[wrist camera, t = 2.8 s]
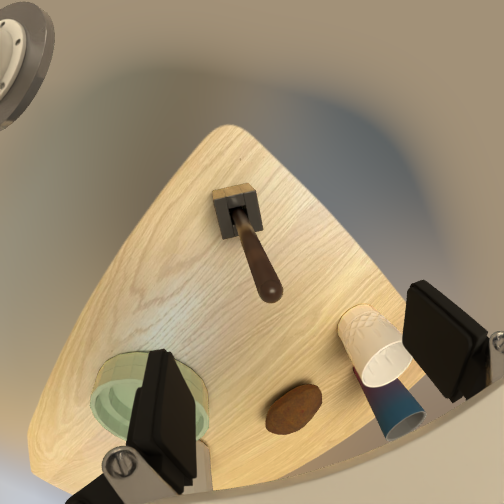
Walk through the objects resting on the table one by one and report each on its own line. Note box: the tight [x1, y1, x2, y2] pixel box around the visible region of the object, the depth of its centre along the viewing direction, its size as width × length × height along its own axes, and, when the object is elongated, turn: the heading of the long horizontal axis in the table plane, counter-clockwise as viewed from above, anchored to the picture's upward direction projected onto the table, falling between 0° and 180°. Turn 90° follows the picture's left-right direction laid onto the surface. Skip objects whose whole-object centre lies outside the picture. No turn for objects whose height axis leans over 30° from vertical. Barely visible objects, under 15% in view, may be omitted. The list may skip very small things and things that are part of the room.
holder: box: [212, 183, 263, 240], centre depth 30 cm, size 4×4×5 cm
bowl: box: [90, 352, 209, 441], centre depth 38 cm, size 18×18×6 cm
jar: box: [182, 440, 213, 495], centre depth 39 cm, size 10×10×18 cm
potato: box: [266, 384, 322, 435], centre depth 42 cm, size 7×12×7 cm, turn 146°
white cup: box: [338, 304, 413, 387], centre depth 36 cm, size 8×8×10 cm
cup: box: [353, 367, 426, 441], centre depth 38 cm, size 7×7×15 cm
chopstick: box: [230, 206, 283, 303], centre depth 23 cm, size 1×1×20 cm
